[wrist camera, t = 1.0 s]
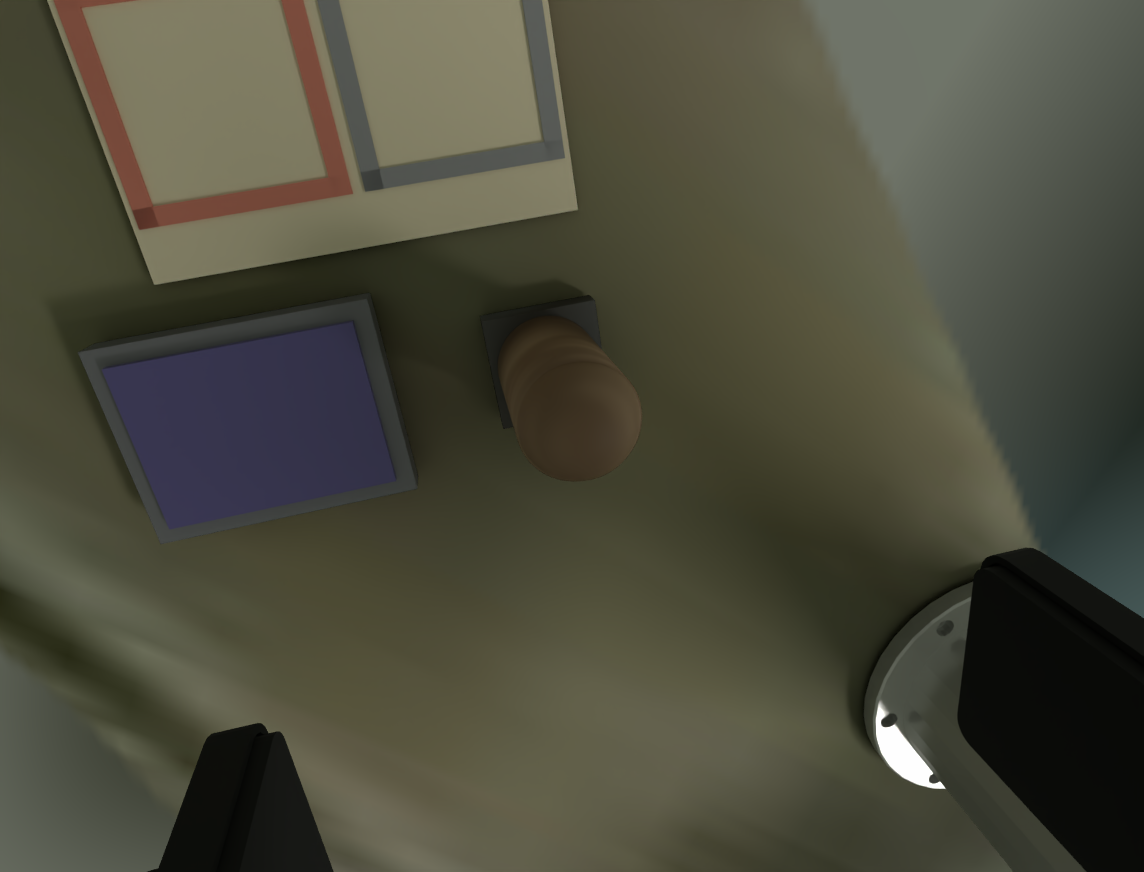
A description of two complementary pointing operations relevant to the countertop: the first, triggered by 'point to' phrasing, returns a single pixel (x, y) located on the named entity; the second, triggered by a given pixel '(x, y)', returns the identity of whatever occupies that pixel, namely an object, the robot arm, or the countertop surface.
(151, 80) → the card sheet
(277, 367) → the ink pad
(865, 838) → the countertop surface
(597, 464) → the stamp
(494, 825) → the countertop surface
